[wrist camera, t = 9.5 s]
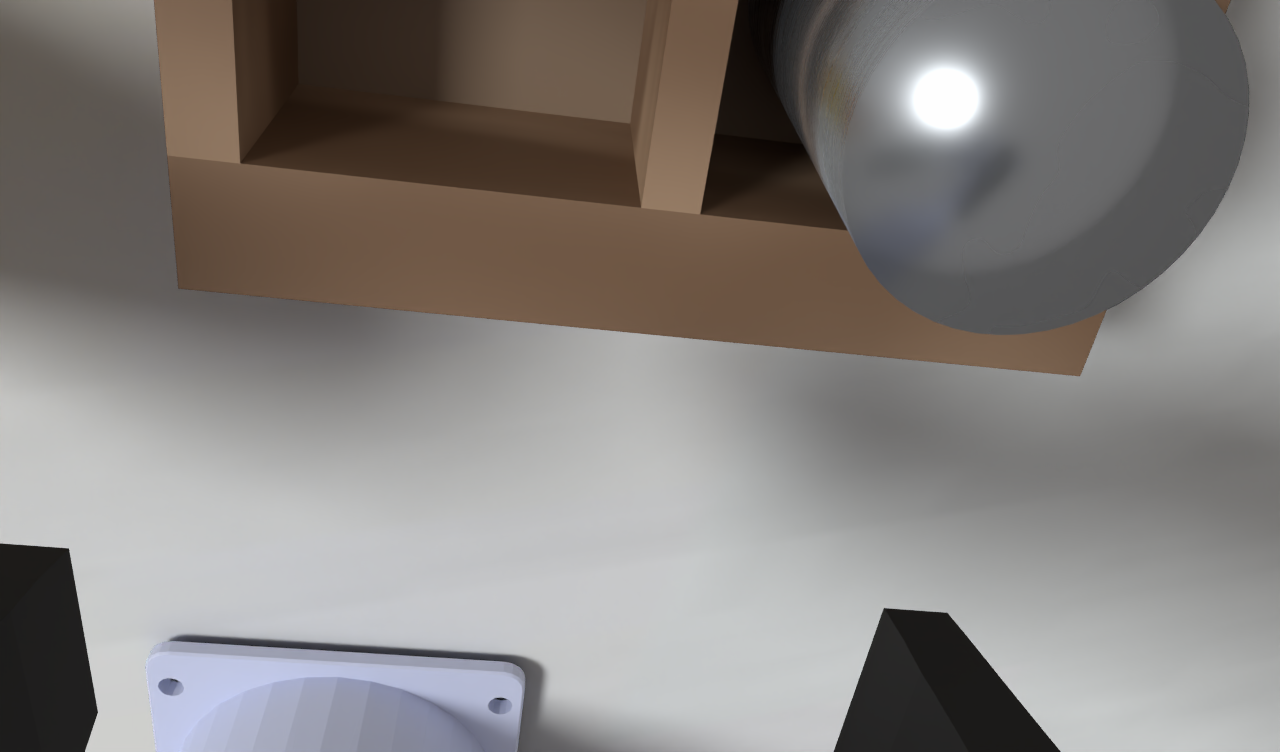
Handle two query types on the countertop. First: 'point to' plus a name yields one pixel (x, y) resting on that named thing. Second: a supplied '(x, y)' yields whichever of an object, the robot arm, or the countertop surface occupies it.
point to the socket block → (525, 174)
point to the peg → (1012, 143)
